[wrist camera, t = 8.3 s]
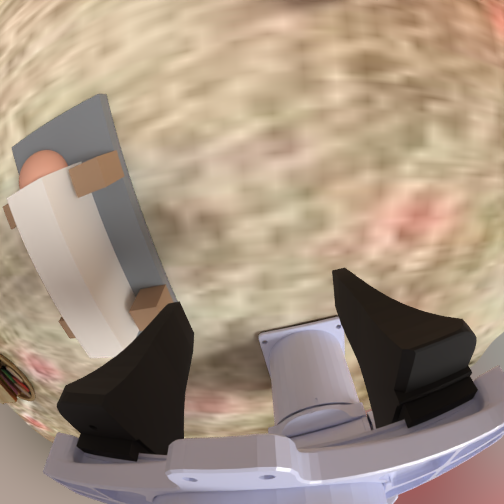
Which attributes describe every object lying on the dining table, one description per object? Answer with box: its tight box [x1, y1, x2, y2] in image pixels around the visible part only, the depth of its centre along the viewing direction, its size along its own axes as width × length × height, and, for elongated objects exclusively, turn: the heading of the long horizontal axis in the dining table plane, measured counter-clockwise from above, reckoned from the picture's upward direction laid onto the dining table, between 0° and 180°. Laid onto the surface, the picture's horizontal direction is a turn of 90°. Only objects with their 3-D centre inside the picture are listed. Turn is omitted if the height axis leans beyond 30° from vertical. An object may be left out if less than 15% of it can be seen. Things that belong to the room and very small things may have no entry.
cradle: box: [3, 94, 178, 338], centre depth 20 cm, size 22×10×4 cm, turn 13°
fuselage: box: [7, 150, 139, 358], centre depth 18 cm, size 16×4×5 cm, turn 13°
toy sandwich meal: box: [0, 354, 35, 404], centre depth 30 cm, size 12×14×5 cm
